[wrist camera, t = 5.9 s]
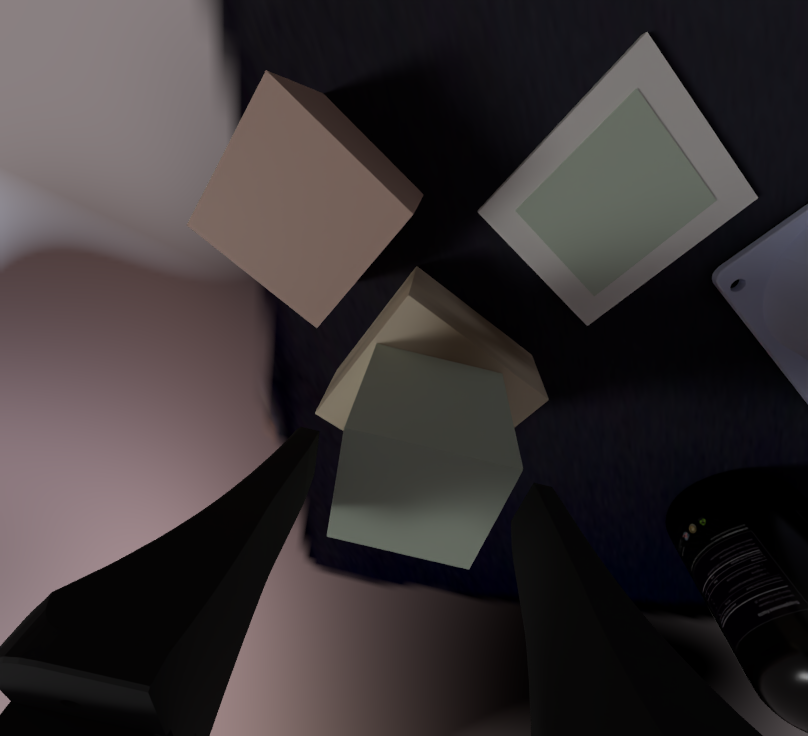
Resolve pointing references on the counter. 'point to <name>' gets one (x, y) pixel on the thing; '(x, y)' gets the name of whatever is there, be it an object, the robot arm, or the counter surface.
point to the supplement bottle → (752, 577)
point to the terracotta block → (302, 198)
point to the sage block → (425, 458)
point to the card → (618, 186)
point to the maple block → (436, 347)
